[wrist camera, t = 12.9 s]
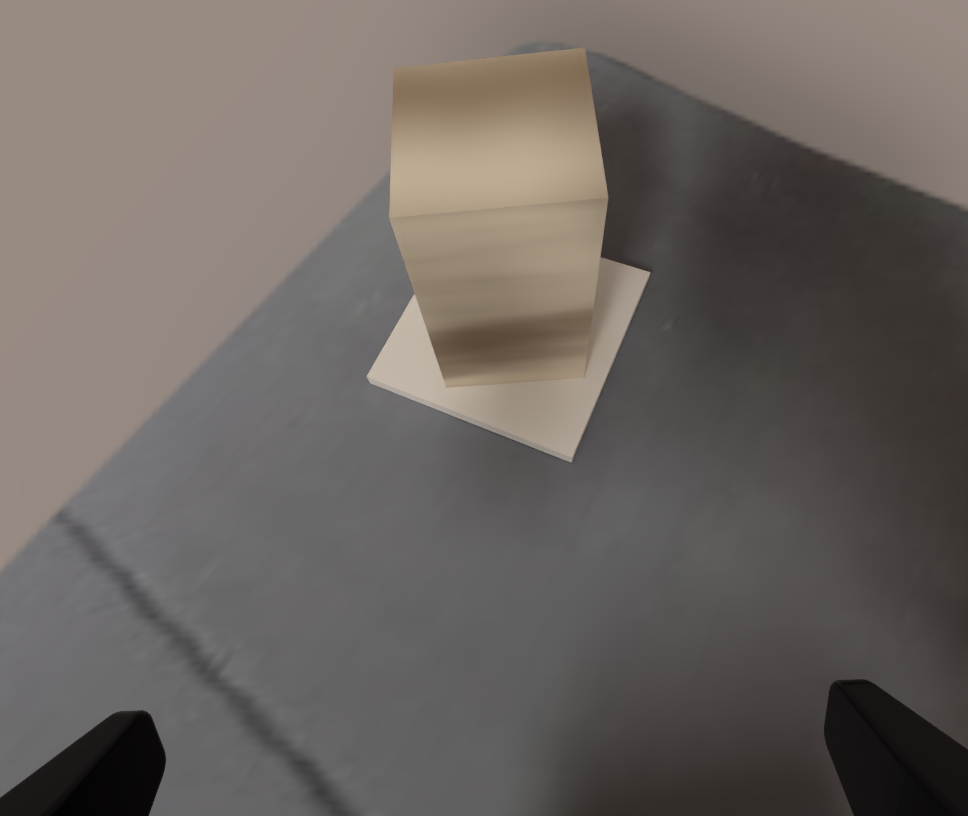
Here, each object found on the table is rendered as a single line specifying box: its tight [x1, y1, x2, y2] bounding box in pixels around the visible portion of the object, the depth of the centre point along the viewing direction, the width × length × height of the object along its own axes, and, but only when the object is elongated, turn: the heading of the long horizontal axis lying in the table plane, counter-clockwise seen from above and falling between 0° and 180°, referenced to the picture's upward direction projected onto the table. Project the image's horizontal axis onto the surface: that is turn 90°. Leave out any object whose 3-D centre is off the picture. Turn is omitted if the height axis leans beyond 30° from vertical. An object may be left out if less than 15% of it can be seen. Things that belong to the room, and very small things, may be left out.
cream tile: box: [367, 257, 651, 463], centre depth 26 cm, size 9×9×1 cm
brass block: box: [389, 48, 608, 388], centre depth 21 cm, size 6×6×10 cm
